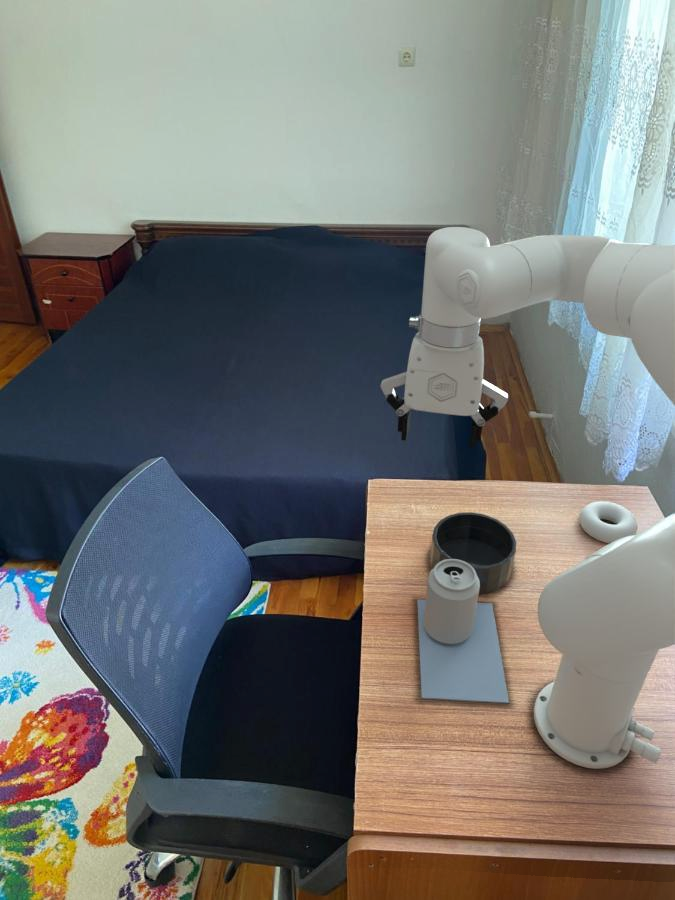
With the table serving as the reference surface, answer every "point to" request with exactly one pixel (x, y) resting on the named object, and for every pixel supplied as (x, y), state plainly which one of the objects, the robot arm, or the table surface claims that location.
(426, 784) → the table surface
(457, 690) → the cloth
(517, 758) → the table surface
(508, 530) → the pot
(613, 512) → the donut
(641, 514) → the table surface
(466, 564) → the can
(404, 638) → the table surface
